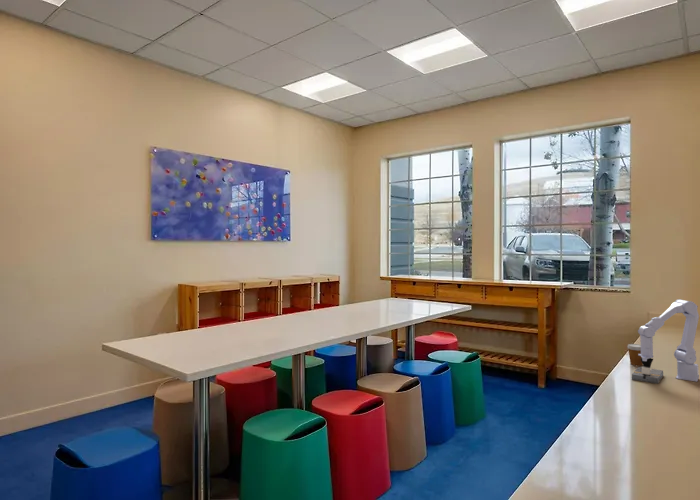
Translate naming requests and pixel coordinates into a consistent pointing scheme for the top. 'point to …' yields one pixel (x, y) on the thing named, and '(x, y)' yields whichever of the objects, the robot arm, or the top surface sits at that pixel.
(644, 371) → the fader tab
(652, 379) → the fader console
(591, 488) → the top surface
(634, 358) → the disposable coffee cup
